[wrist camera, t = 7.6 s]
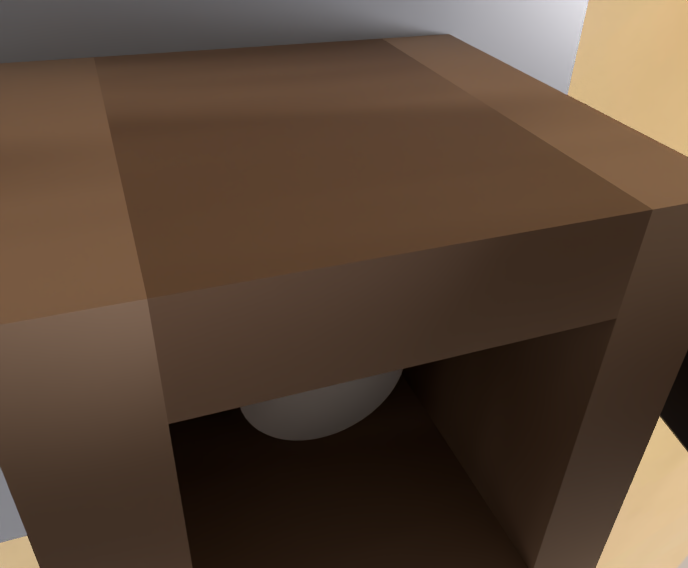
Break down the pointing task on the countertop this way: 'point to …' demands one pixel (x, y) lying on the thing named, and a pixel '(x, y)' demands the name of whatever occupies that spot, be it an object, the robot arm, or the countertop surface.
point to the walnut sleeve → (328, 306)
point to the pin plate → (284, 29)
